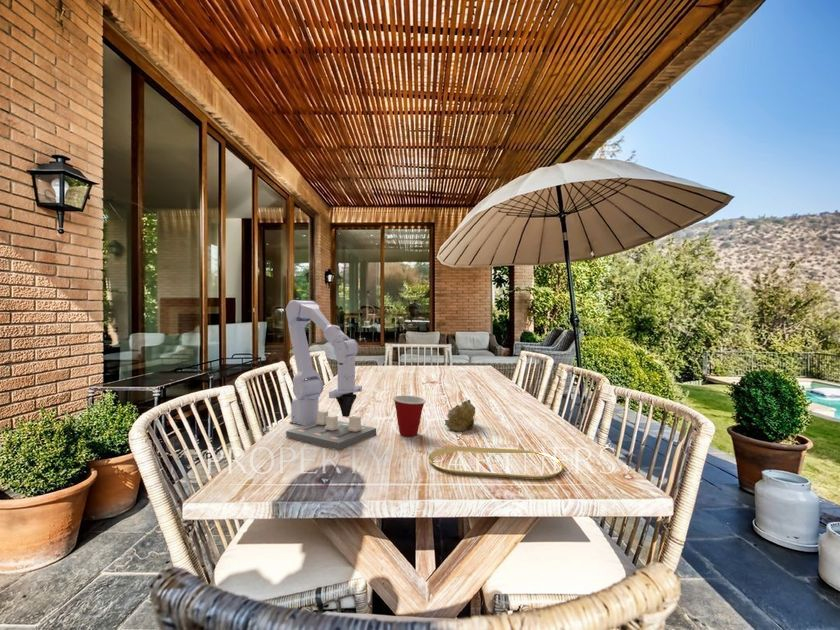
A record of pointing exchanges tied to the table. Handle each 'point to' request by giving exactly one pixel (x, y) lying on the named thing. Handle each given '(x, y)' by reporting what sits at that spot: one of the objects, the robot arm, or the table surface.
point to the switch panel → (330, 435)
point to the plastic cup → (408, 414)
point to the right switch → (354, 423)
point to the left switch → (321, 417)
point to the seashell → (461, 417)
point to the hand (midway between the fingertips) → (345, 416)
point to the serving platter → (486, 450)
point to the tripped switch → (331, 422)
